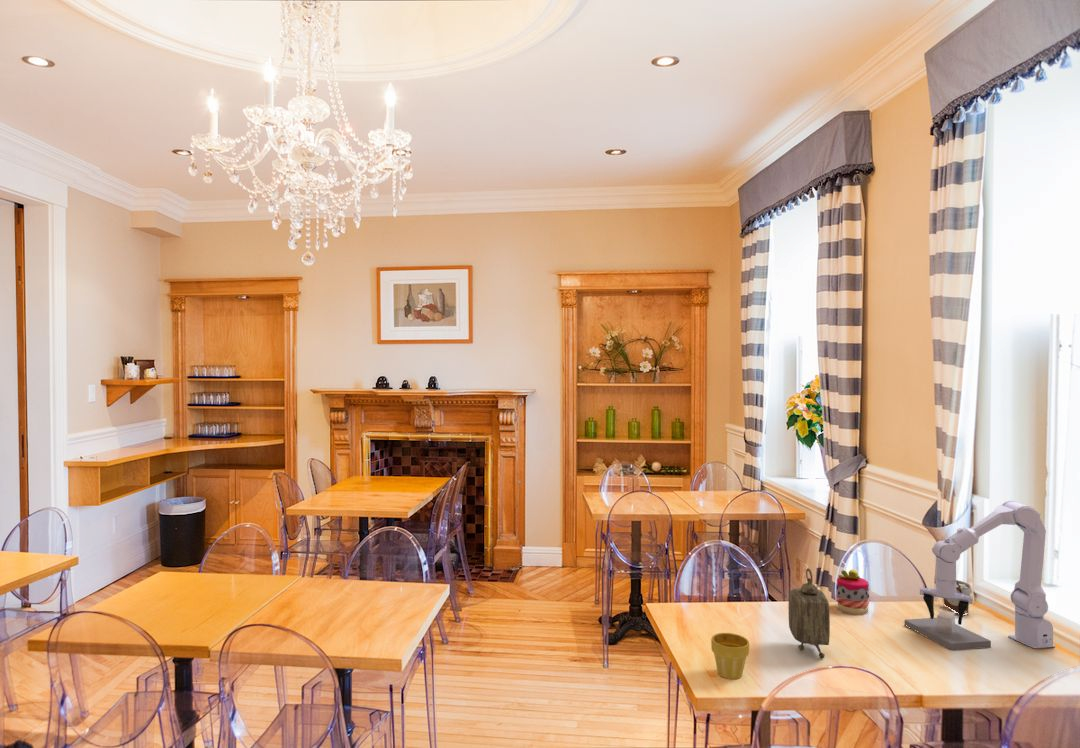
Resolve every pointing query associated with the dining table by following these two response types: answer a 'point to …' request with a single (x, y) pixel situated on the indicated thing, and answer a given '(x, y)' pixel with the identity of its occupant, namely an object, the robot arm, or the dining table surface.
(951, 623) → the housing
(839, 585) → the cake
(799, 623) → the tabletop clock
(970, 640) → the grey flat block
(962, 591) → the food container
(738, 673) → the plant pot
